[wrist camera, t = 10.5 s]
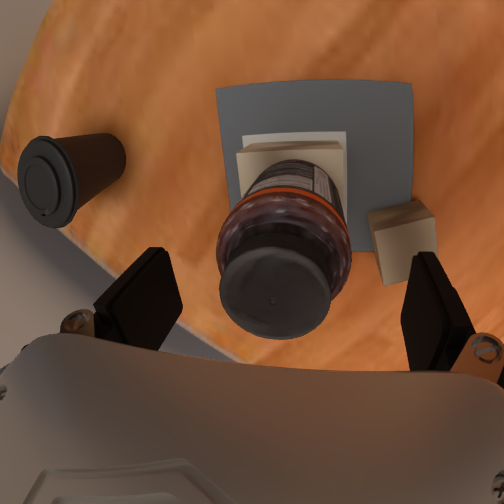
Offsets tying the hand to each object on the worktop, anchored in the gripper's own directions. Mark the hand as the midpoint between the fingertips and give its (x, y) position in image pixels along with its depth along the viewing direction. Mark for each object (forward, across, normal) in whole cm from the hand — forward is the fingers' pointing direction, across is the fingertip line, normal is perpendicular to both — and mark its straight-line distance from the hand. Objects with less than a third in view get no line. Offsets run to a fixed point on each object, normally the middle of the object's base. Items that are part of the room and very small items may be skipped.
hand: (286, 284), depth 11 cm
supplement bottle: (+11, +1, 0) cm, 11 cm away
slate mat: (+16, -1, 0) cm, 16 cm away
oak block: (+16, -8, +5) cm, 18 cm away
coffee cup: (+16, +20, -4) cm, 26 cm away
